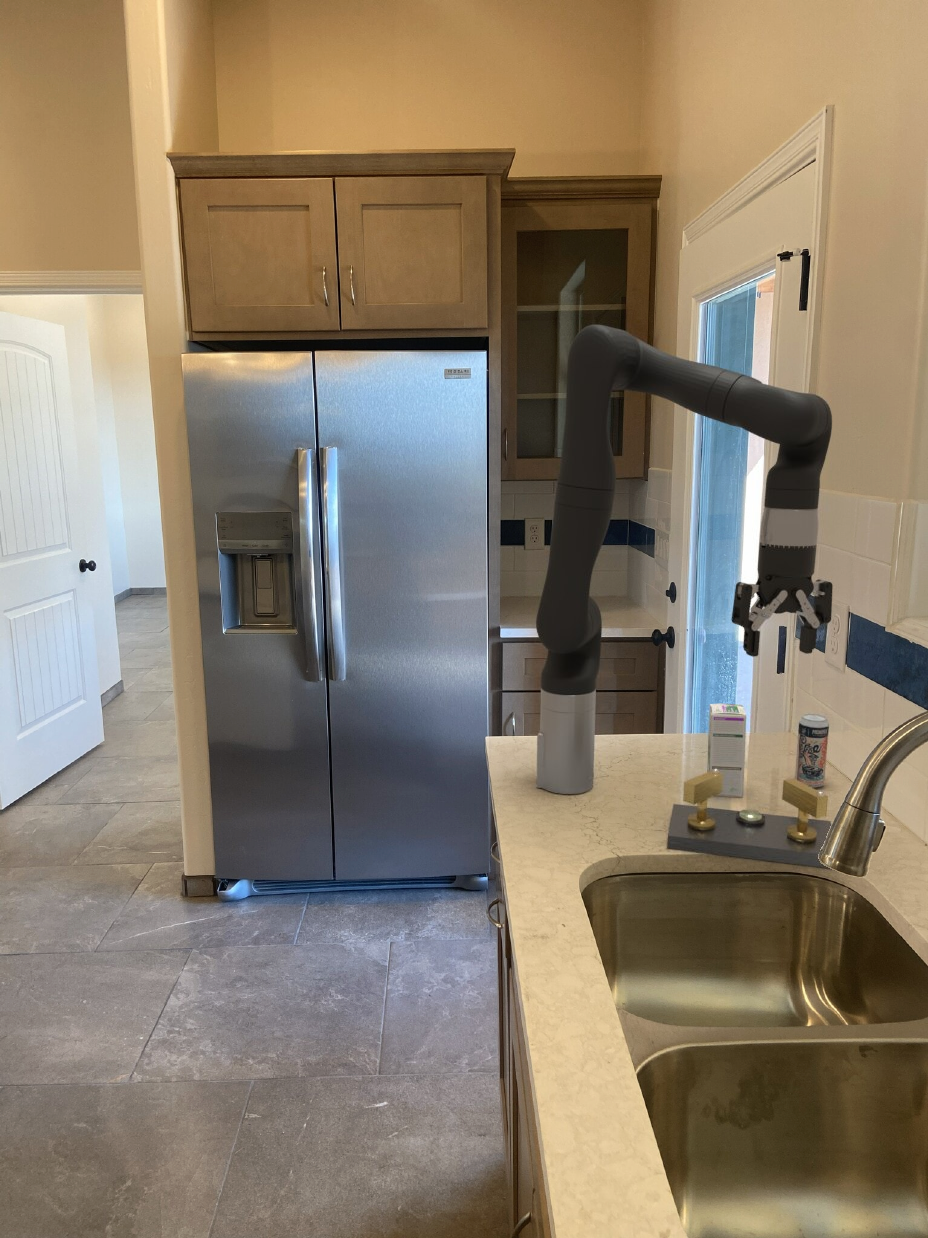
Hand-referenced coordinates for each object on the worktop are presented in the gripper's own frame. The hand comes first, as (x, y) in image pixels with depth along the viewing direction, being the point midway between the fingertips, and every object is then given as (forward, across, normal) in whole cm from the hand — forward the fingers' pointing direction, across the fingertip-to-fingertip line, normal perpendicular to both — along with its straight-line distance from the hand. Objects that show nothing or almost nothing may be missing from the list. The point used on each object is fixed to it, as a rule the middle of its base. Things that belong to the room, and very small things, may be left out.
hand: (778, 653), depth 128 cm
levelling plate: (+28, +2, 0) cm, 28 cm away
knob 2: (+26, -3, +5) cm, 27 cm away
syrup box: (+28, -3, -18) cm, 34 cm away
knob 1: (+26, +9, -2) cm, 28 cm away
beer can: (+28, -19, -17) cm, 38 cm away
